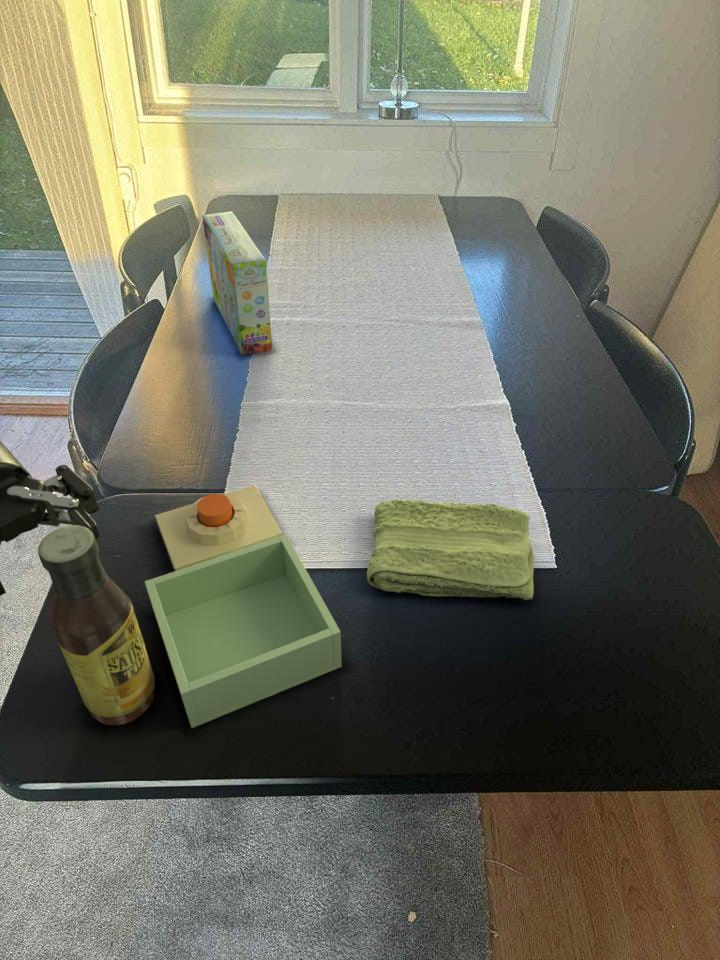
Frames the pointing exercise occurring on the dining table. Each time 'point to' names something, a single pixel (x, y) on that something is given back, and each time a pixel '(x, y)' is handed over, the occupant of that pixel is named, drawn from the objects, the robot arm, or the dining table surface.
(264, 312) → the snack box
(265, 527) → the panel
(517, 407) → the dining table surface
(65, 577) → the sauce bottle
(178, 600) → the sage green tray
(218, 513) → the button
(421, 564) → the washcloth
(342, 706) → the dining table surface
